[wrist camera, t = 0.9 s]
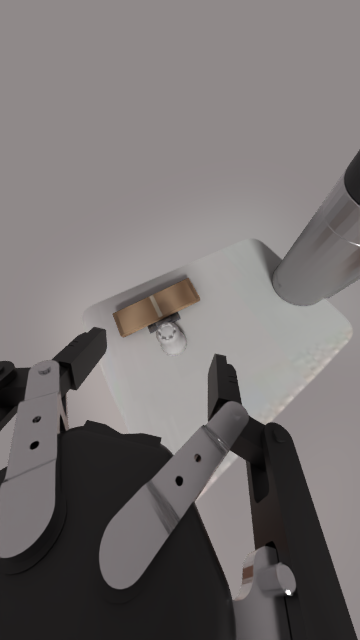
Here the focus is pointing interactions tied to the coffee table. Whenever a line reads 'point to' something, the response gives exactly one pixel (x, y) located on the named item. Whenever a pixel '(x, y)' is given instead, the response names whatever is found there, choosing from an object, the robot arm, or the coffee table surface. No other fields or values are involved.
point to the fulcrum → (169, 318)
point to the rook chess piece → (171, 339)
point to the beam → (155, 307)
